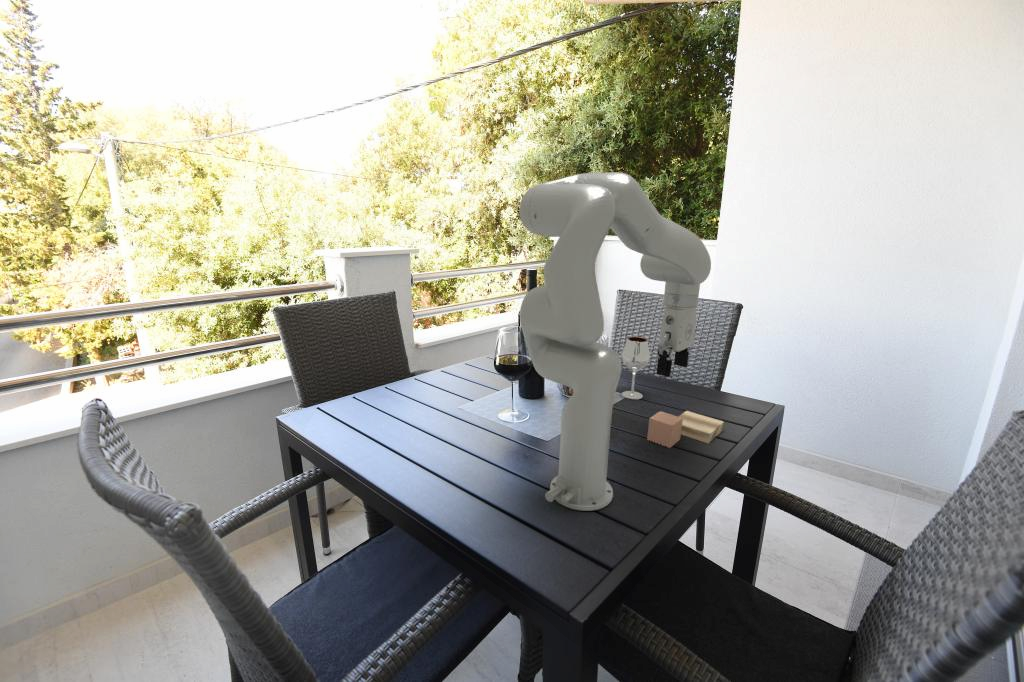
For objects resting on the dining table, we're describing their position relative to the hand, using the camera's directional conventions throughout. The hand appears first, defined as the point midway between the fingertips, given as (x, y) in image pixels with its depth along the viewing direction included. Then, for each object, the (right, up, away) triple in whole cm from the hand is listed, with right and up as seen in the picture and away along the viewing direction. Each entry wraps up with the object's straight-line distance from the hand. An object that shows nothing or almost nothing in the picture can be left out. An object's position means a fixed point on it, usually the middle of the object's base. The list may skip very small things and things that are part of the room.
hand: (672, 370), depth 116 cm
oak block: (+10, -17, +10) cm, 22 cm away
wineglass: (-2, -10, +33) cm, 34 cm away
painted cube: (-1, -18, +5) cm, 19 cm away
